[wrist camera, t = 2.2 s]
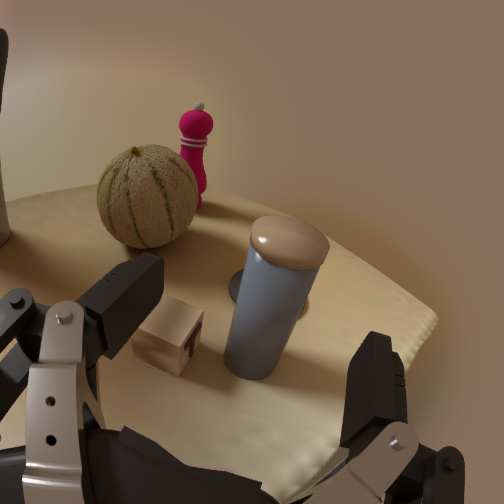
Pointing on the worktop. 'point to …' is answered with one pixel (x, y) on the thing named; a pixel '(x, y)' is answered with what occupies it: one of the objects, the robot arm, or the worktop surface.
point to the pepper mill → (195, 142)
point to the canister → (272, 292)
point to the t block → (169, 335)
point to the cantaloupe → (147, 196)
